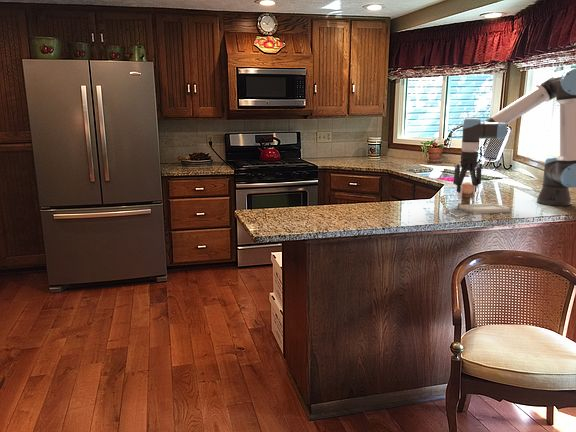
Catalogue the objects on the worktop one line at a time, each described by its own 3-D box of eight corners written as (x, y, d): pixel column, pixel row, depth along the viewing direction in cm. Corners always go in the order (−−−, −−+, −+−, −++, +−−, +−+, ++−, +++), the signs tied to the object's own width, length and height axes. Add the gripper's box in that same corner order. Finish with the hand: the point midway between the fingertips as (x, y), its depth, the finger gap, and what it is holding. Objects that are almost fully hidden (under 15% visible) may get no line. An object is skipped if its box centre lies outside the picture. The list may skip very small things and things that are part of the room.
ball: (468, 193, 242) (469, 181, 241) (475, 195, 236) (476, 183, 235) (457, 194, 241) (458, 182, 240) (463, 196, 235) (464, 183, 234)
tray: (495, 207, 237) (495, 203, 236) (510, 212, 225) (511, 208, 225) (459, 208, 233) (459, 204, 233) (472, 213, 222) (473, 209, 221)
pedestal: (467, 204, 244) (468, 192, 243) (475, 207, 237) (476, 194, 236) (455, 205, 242) (455, 192, 241) (462, 207, 236) (463, 195, 234)
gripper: (483, 150, 240) (479, 197, 244) (447, 150, 236) (444, 198, 241) (492, 151, 232) (487, 199, 237) (455, 152, 229) (451, 200, 234)
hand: (465, 198), depth 239 cm, fingers closed on ball, 6 cm apart
